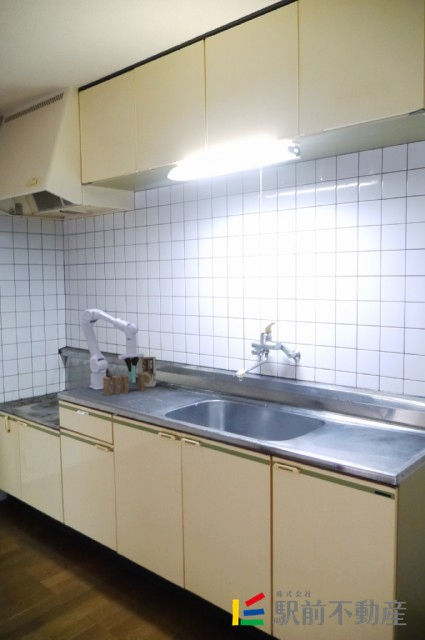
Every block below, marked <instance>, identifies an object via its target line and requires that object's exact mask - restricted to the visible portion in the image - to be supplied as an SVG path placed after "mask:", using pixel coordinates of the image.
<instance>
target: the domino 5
mask: <svg viewBox="0 0 425 640" xmlns="http://www.w3.org/2000/svg"><path fill="white" fill-rule="evenodd" d="M137 390H139V391H141V392H145V391H146V387H145V374H143V373H137Z"/></svg>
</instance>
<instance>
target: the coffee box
mask: <svg viewBox="0 0 425 640" xmlns="http://www.w3.org/2000/svg"><path fill="white" fill-rule="evenodd" d="M138 358H139V361H138V363H137V365H138V366H137V368H138V369H137V372H138V373H143V374H145V388H146V387H147V388H151V387H155V386H156V385H157V375H156V374H157V362H156V361H157V360H156V356H144V357H138ZM138 373H137V374H138Z"/></svg>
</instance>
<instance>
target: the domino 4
mask: <svg viewBox="0 0 425 640" xmlns="http://www.w3.org/2000/svg"><path fill="white" fill-rule="evenodd" d="M136 372H137V371H136V369H135V365H132V364H131V372H129V371H128V370H127V376H128V383H131V384H133V383H136V382H137V381H136Z"/></svg>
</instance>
